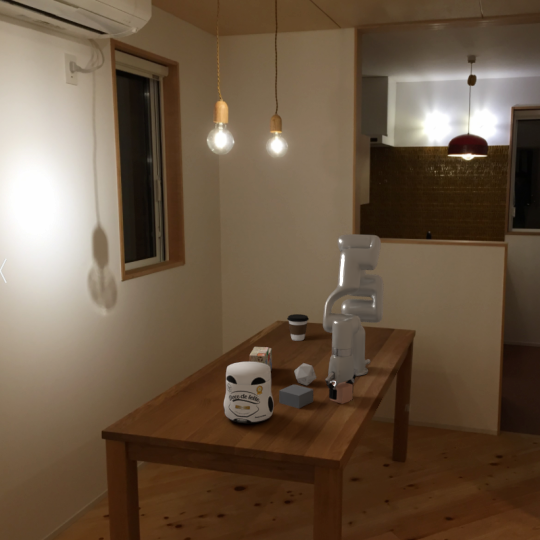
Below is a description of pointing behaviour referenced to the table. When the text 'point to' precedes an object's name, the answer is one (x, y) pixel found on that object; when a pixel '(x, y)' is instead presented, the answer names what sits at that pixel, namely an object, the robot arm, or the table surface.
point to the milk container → (248, 392)
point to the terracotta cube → (344, 392)
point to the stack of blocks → (261, 355)
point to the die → (305, 374)
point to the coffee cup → (297, 326)
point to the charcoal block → (296, 396)
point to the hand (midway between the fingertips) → (341, 395)
